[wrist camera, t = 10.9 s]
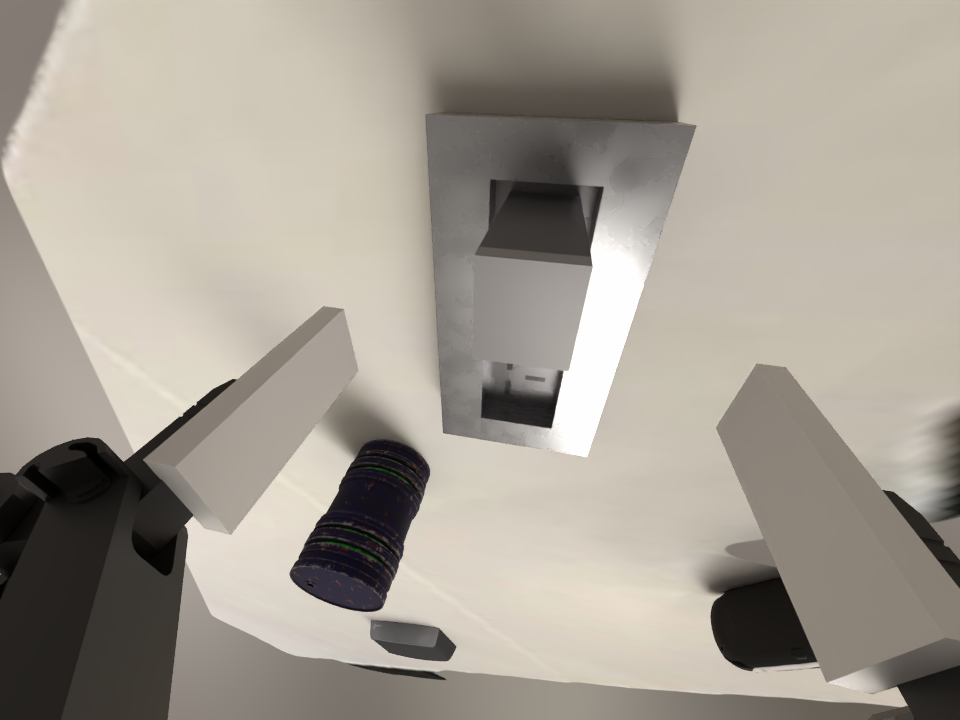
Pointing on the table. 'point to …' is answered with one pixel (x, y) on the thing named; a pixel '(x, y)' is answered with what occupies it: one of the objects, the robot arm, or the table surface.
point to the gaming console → (761, 629)
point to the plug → (531, 281)
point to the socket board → (613, 245)
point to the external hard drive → (412, 640)
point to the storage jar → (364, 528)
